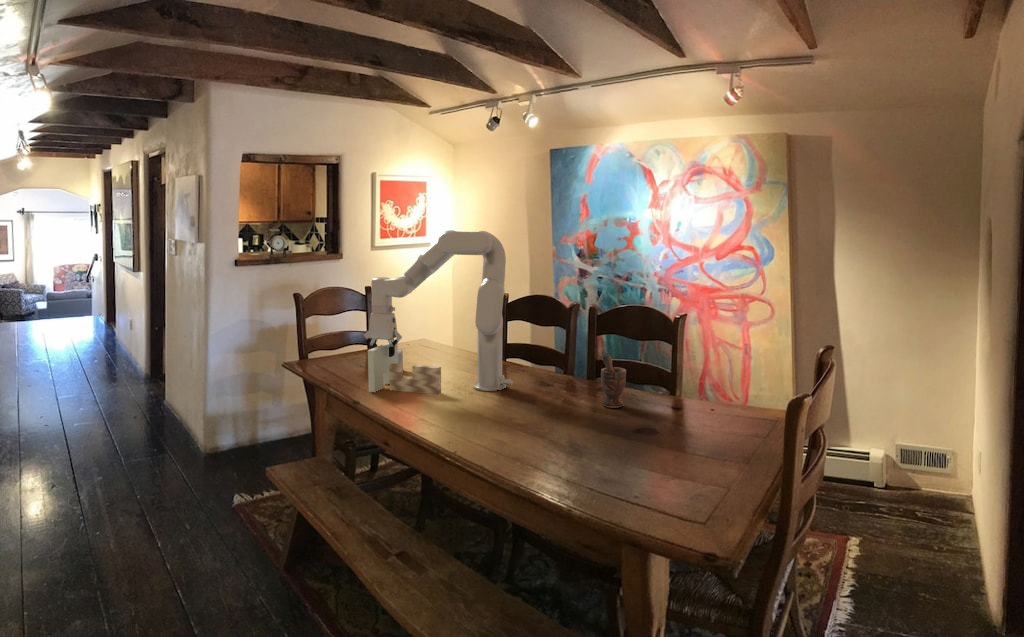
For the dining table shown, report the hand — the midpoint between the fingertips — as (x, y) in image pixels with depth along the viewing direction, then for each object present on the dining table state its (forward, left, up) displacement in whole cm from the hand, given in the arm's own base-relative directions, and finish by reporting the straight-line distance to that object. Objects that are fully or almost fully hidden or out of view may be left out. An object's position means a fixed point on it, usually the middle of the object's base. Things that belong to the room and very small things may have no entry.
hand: (383, 355), depth 257 cm
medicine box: (+8, -24, -12) cm, 28 cm away
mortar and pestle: (-89, +3, -12) cm, 90 cm away
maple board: (-15, +4, -12) cm, 20 cm away
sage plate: (0, 0, -12) cm, 12 cm away
